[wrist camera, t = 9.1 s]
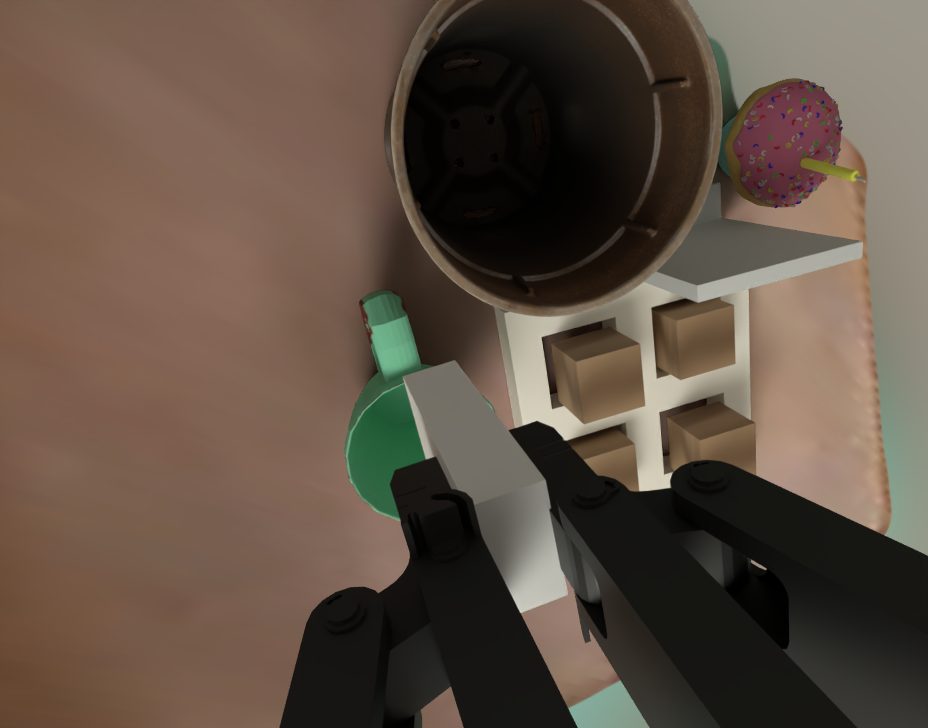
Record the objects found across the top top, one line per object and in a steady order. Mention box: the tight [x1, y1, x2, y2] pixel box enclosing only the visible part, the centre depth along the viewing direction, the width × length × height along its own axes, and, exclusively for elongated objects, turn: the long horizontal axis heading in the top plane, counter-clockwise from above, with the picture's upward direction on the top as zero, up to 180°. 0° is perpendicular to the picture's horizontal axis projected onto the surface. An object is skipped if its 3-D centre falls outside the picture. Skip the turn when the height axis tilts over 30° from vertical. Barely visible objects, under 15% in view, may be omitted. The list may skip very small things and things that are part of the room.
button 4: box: [651, 298, 736, 380], centre depth 50 cm, size 5×5×4 cm
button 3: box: [667, 401, 756, 475], centre depth 51 cm, size 5×5×4 cm
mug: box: [344, 290, 496, 521], centre depth 42 cm, size 15×10×10 cm
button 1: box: [566, 426, 639, 491], centre depth 51 cm, size 5×5×4 cm
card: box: [644, 182, 863, 303], centre depth 42 cm, size 4×11×14 cm, turn 101°
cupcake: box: [718, 79, 866, 208], centre depth 43 cm, size 9×8×12 cm
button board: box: [494, 282, 751, 491], centre depth 52 cm, size 20×20×2 cm
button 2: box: [551, 327, 645, 424], centre depth 46 cm, size 5×5×4 cm
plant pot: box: [384, 0, 722, 317], centre depth 36 cm, size 16×16×16 cm
